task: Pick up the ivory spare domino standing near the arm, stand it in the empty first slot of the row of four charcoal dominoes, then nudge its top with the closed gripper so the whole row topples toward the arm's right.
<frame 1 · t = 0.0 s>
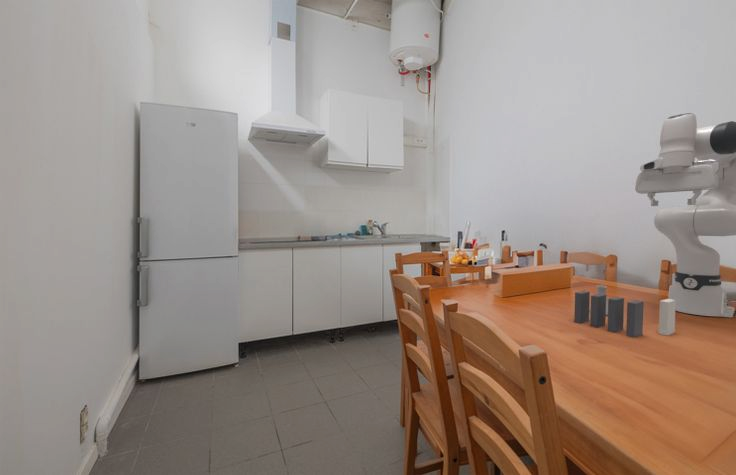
hand: (672, 205, 108), 39 cm above the table, tool pointing down, fingers open, 8 cm apart
domino 4: (597, 325, 107), on the table
domino 3: (615, 330, 102), on the table
domino 5: (581, 321, 111), on the table
flask: (600, 313, 120), on the table
domino 2: (634, 335, 98), on the table
spare domino: (666, 333, 99), on the table
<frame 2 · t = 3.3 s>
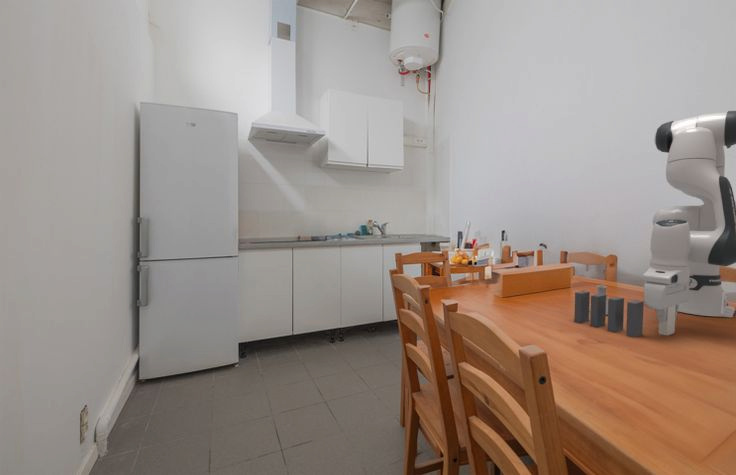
hand: (667, 319, 99), 4 cm above the table, tool pointing down, fingers closed on spare domino, 5 cm apart
spare domino: (666, 333, 99), on the table, touching gripper
everything else where it was.
when the fingers open (5 cm above the table, at t = 7.8 s): spare domino stays where it is, on the table.
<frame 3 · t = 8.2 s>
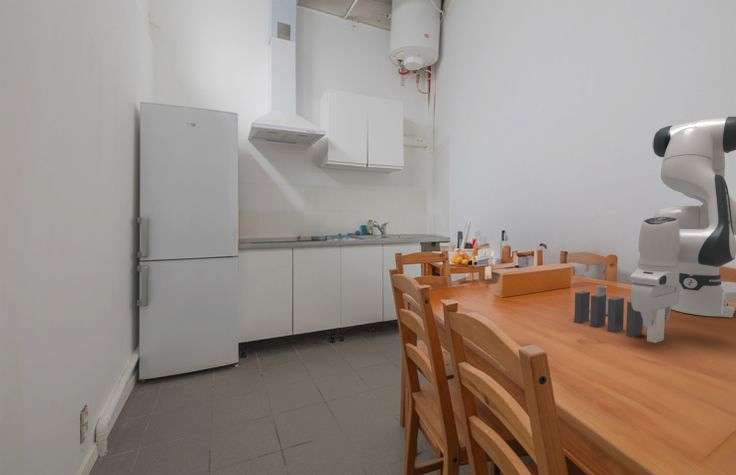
hand: (655, 323, 93), 5 cm above the table, tool pointing down, fingers open, 8 cm apart
spare domino: (655, 340, 93), on the table
everything else where it was.
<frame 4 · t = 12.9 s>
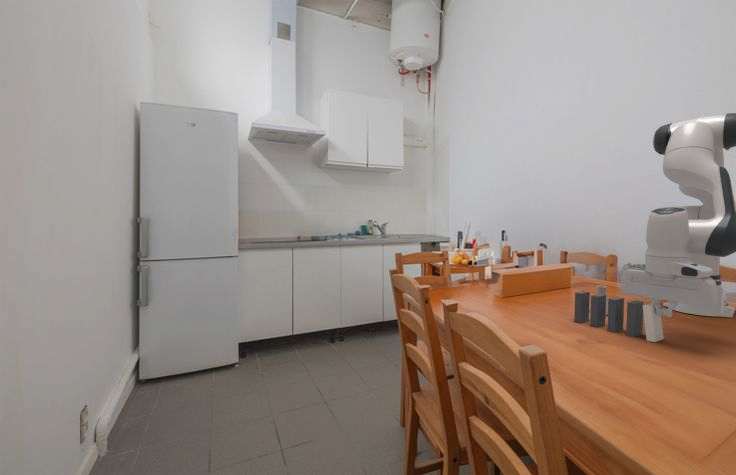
hand: (663, 315, 92), 8 cm above the table, tool pointing down, fingers closed
spare domino: (655, 339, 93), on the table, tilted 7°, touching gripper
everything else where it was.
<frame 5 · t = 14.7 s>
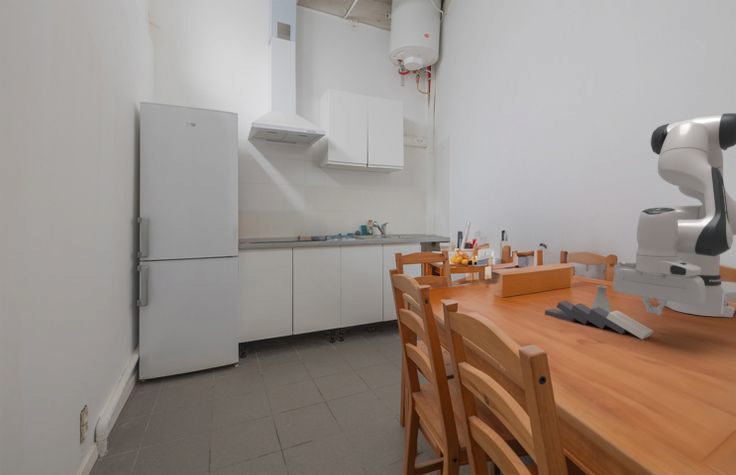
hand: (654, 313, 93), 8 cm above the table, tool pointing down, fingers closed
domino 4: (589, 320, 109), point 1 cm above the table, tilted 68°, touching domino 3
domino 3: (607, 324, 104), point 1 cm above the table, tilted 67°, touching domino 2, domino 4
domino 5: (577, 319, 112), on the table, tilted 90°
domino 2: (627, 330, 99), point 1 cm above the table, tilted 67°, touching domino 3, spare domino
spare domino: (647, 335, 95), point 1 cm above the table, tilted 67°, touching domino 2
everything else where it was.
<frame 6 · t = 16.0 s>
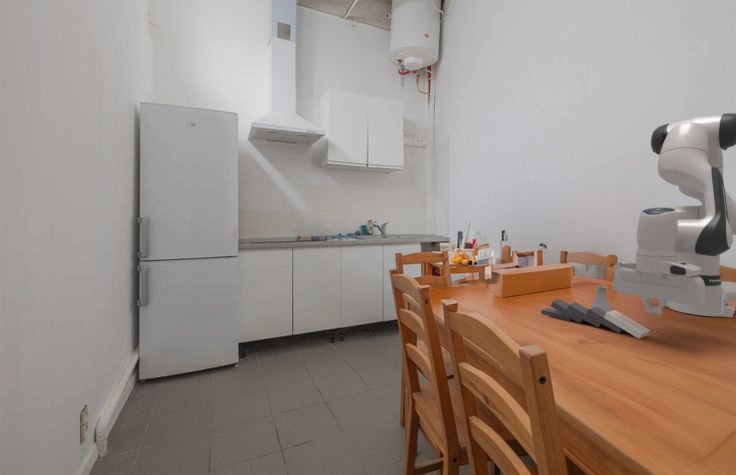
hand: (654, 313, 93), 8 cm above the table, tool pointing down, fingers closed
domino 4: (584, 319, 110), point 1 cm above the table, tilted 67°, touching domino 3, domino 5
domino 3: (602, 323, 106), point 1 cm above the table, tilted 67°, touching domino 4
domino 5: (573, 318, 113), on the table, tilted 90°, touching domino 4
domino 2: (624, 329, 100), point 1 cm above the table, tilted 68°, touching spare domino
everything else where it was.
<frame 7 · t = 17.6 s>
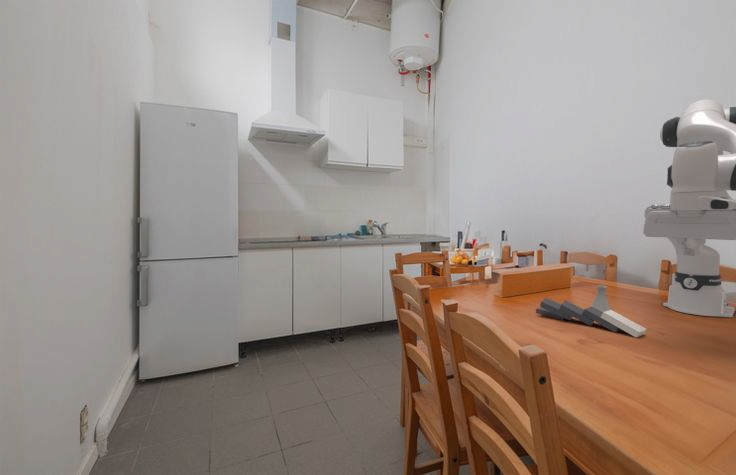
hand: (690, 255, 88), 25 cm above the table, tool pointing down, fingers closed
domino 4: (573, 315, 112), point 2 cm above the table, tilted 71°, touching domino 3
domino 3: (593, 321, 107), point 1 cm above the table, tilted 66°, touching domino 2, domino 4
domino 5: (567, 317, 114), on the table, tilted 90°
domino 2: (620, 328, 101), point 1 cm above the table, tilted 70°, touching domino 3, spare domino
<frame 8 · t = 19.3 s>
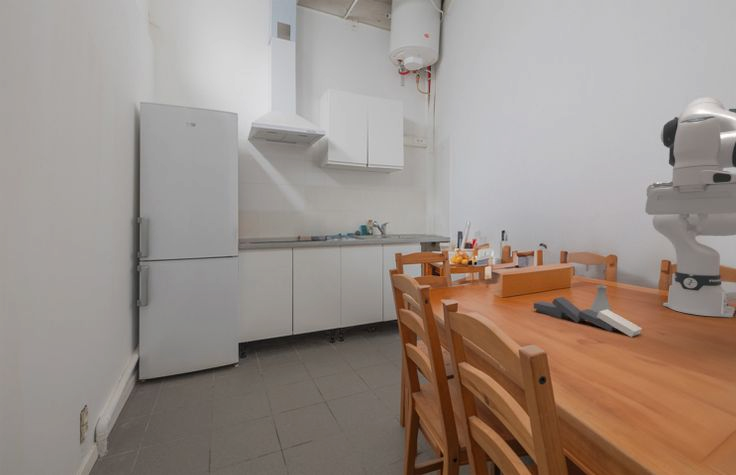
hand: (692, 231, 88), 31 cm above the table, tool pointing down, fingers closed
domino 4: (565, 310, 116), point 2 cm above the table, tilted 90°, touching domino 5
domino 3: (582, 319, 110), point 1 cm above the table, tilted 60°, touching domino 2
domino 5: (565, 316, 115), on the table, tilted 90°, touching domino 4
domino 2: (616, 327, 102), point 1 cm above the table, tilted 77°, touching domino 3, spare domino
spare domino: (636, 332, 97), point 1 cm above the table, tilted 69°, touching domino 2
everything else where it was.
at the end: domino 5 tilted 90°; spare domino inside the target area (2.3 cm from its centre), point 0.9 cm above the table; spare domino tilted 69° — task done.
